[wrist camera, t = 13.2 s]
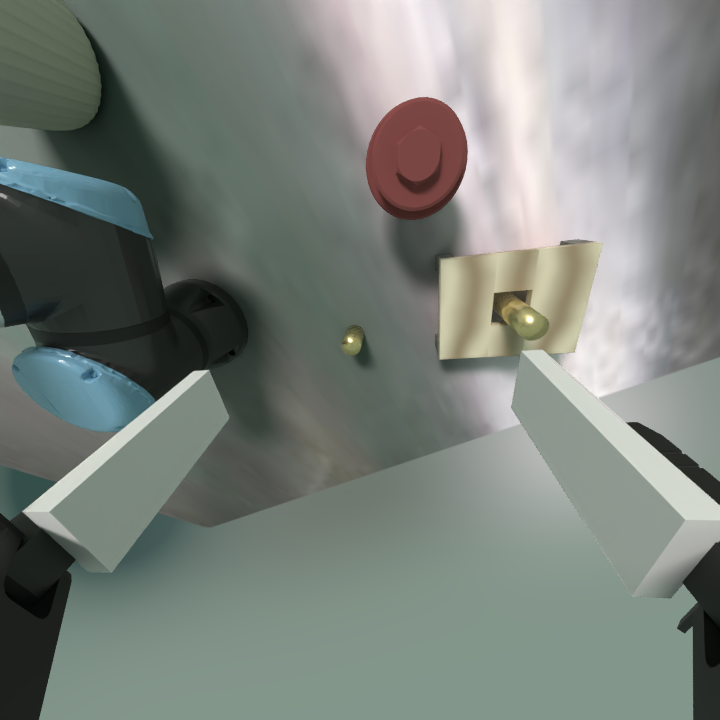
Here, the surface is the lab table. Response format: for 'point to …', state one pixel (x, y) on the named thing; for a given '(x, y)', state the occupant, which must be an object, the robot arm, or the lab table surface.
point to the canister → (46, 67)
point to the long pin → (520, 316)
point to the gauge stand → (514, 273)
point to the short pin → (352, 340)
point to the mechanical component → (416, 158)
